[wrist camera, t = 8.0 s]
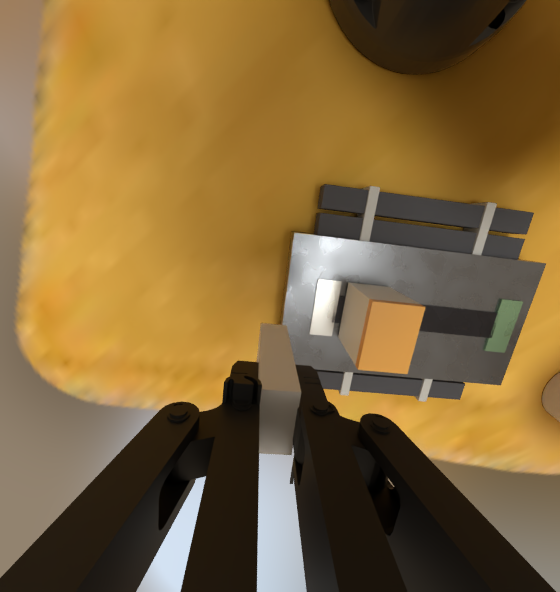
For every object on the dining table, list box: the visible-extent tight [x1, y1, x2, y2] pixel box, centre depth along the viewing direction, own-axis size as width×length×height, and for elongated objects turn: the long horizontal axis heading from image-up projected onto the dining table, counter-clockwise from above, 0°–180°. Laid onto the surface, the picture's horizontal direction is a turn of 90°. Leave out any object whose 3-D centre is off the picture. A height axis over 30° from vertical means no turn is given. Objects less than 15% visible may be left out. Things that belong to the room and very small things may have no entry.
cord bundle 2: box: [315, 369, 465, 402], centre depth 28 cm, size 3×16×2 cm, turn 83°
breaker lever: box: [338, 282, 425, 374], centre depth 22 cm, size 5×4×6 cm
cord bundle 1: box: [314, 184, 534, 260], centre depth 24 cm, size 5×18×2 cm, turn 83°
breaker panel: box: [280, 231, 546, 385], centre depth 26 cm, size 12×22×3 cm, turn 83°
